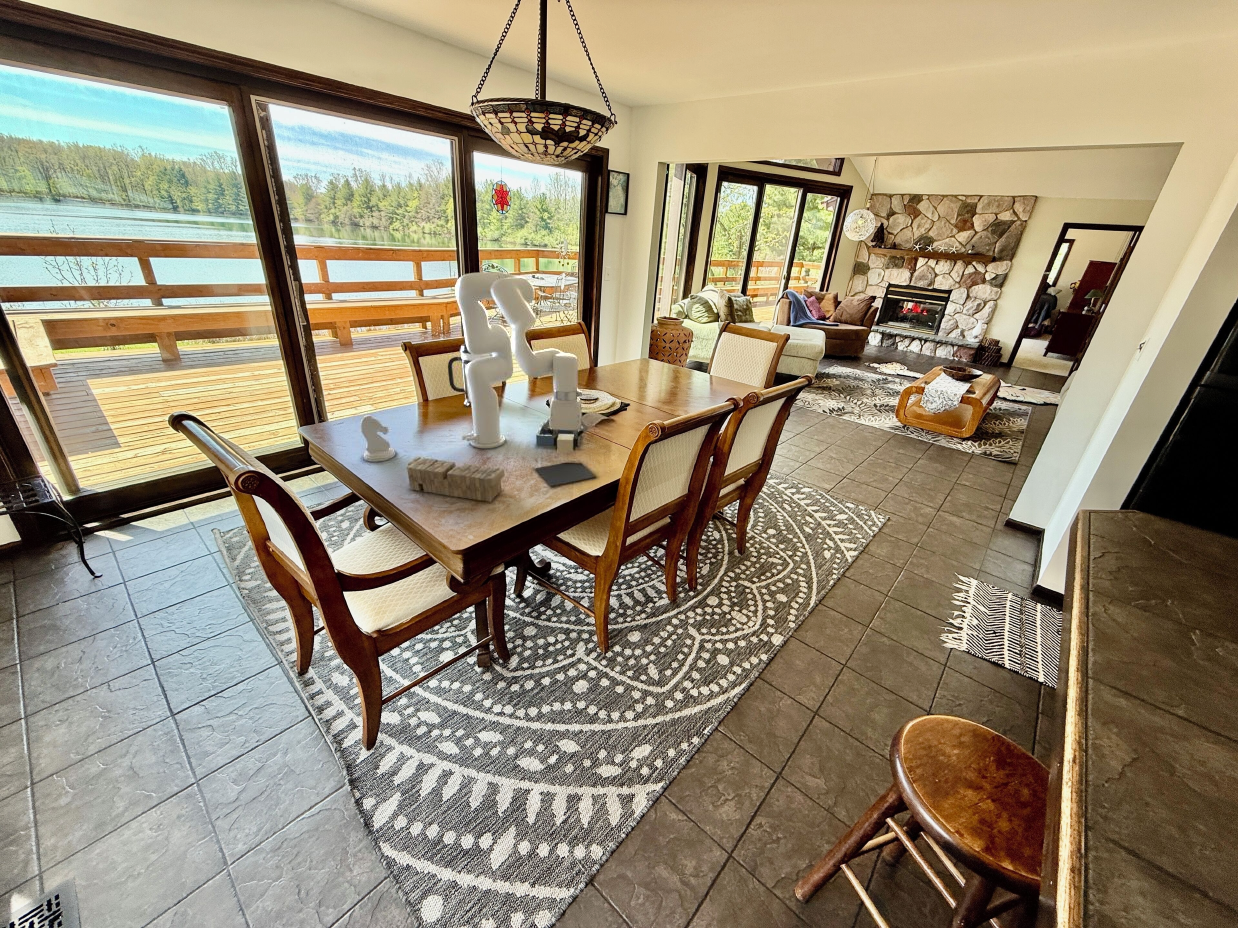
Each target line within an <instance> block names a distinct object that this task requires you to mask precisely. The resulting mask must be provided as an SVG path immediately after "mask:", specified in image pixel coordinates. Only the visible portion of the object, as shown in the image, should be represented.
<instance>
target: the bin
mask: <svg viewBox="0 0 1238 928" xmlns="http://www.w3.org/2000/svg"><path fill="white" fill-rule="evenodd" d="M545 422H546V421H545ZM545 422H542V421H541V423H540V426H539V427H538V430H537V432H536V435H535V441H536V445H535V446H536V447H554V448H556V446H554V438H553V437H552V435H551V434H550V433H549V432H548V431H546V430H545V429H544V428H543V424H544V423H545ZM548 426H549V427H550V425H548ZM580 429H582V427H581V428H580ZM580 429H579V430H580ZM553 430H554V429H553ZM579 430H578V431H579ZM557 434H558V436H559V434H573V431H572V430H558V432H557ZM581 436H582V435H581ZM581 436H579V437H578V447H576V448H577V449H579V446H580V441H581Z"/></svg>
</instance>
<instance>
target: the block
mask: <svg viewBox="0 0 1238 928" xmlns="http://www.w3.org/2000/svg"><path fill="white" fill-rule="evenodd" d="M573 438H574V434H559V436H558V439H557V449H556V452H557V455H574V451H575V450H573Z"/></svg>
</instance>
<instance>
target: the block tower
mask: <svg viewBox="0 0 1238 928" xmlns="http://www.w3.org/2000/svg"><path fill="white" fill-rule="evenodd" d="M406 471H407V476H408V482H409V488H410V490H412V491H417V492H418V491H421V490H422V489H423V492H425V493H431V494H437V495H444V496H450V497H456V498H463V499H470V500H475V501H476V500H477V501H484V502H488V503H491V502H493V500H494V499H495V497H496V496H497V495H498V494H499V493H500V492H502V490H503V489H502V479H503V478H504V477H505V468H500V467H497V466H496V467H492V466H485V465H478V464H471V463H463V464H462V465H461V466H456V462H455V461H448V460H440V459H439V460H438V459H435V458H428V457H421V456H416V457H415V458H413V459H411V460H410V461H408V462H407V467H406Z"/></svg>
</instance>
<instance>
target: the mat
mask: <svg viewBox="0 0 1238 928" xmlns="http://www.w3.org/2000/svg"><path fill="white" fill-rule="evenodd" d="M535 471H536V472H537V473H538V474H539V475H540V476H541V477H542V478H543V480H544V481H545V482H546V483H547V484H548V485H549V486H550V488H554V487H558V486H564V485H568V484H573V483H578V482H582V481H587V480H592V479H596V478H597V476H596V475H595V474H594V473H593V472H592V471H591V470H590V469H588V467H587V466H585V465H584V464H583V463H582V462H562V463H556V464H552V465H546V466H541V467H535Z"/></svg>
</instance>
